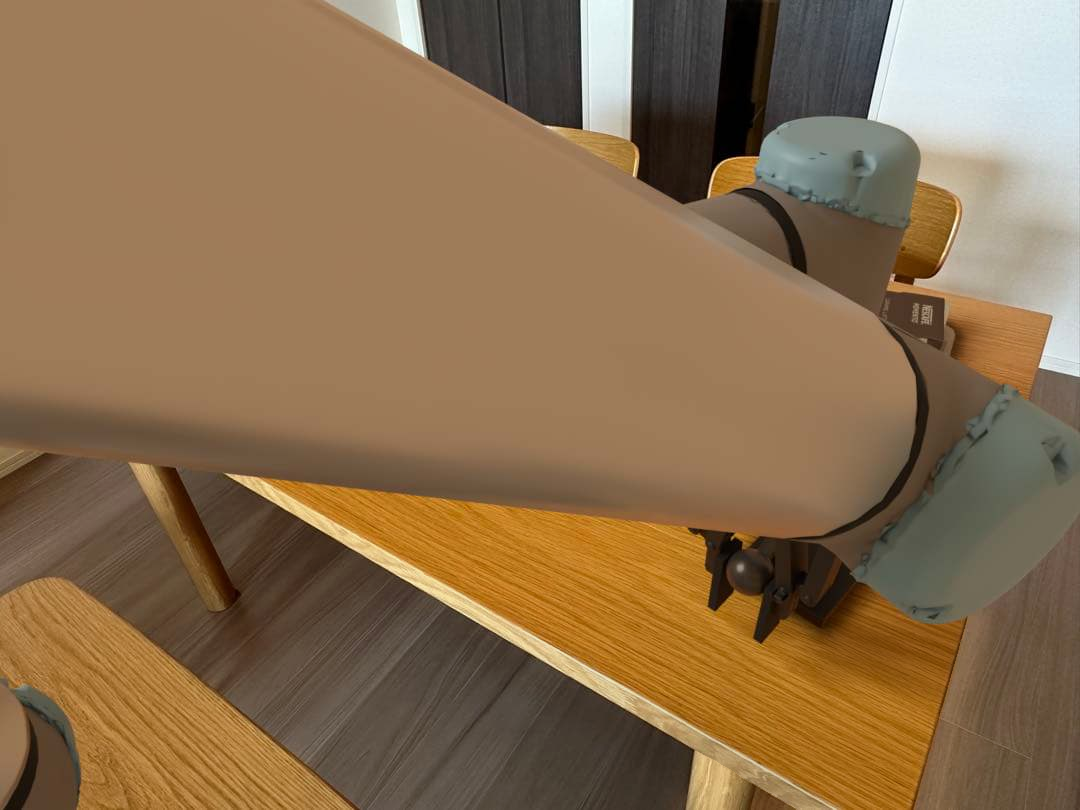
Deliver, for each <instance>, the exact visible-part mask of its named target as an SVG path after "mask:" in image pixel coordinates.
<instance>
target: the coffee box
mask: <svg viewBox="0 0 1080 810" xmlns="http://www.w3.org/2000/svg"><path fill="white" fill-rule="evenodd" d="M945 302H946V300H945V298H944V297H940V296H933V295H928V294H922V293H915V292H908V291H900V292H899V291H893V290H888V289H887V290H886V294H885V297H884V300H883V303H882V306H881V309H880V313H879V317H881V318H883V319H884V320H886V321H888V322H890V323H892V324H893V325H895V326H897V327H899V328H900V329H902V330H904V331H906V332H908V333H909V334H911V335H913V336H915V337H916V338H918V339H920V340H922V341H923V342H925V343H927V344H929V345H931V346H932V347H934V348H936V349H938V350H940V349H941V346H942V344H943V342H944V310H945Z"/></svg>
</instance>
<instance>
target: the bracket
mask: <svg viewBox="0 0 1080 810" xmlns="http://www.w3.org/2000/svg"><path fill="white" fill-rule="evenodd" d="M766 538H767V537H766V536H758V537H757V538H756V539H755V540H754V541H753V542H752V543H751V545H749V546H748V548H752V549H756V550H757V549H758V548H759V547H760V546H761V544H762V543H763V542H764V541H765V539H766ZM819 545H820V544H818V543H808V573H809V570H810V568H811V565H812V563H813V560H814V558H815V555H816V552H817V550H818V547H819ZM771 562H772V564H773V566H774V571H775V556H774V557H773V559H772V560H771ZM850 572H852V571H851V570H850V569H849V568H848V567H847V566H846V565H845V564H844V563H843V562H842V564H841V566H840V568H839V571H838V573H837V575H836V578H835V580H834V582H833V584H832V586H831V587H830V588H829V589H828V591H827V592H826V593H825V594H824V595H823V597H822V598H821V599H820V600H819V601H818V603H817V604H816V605H815V606H814V607H809V606H807V605H805V604H804V603H803V602H802V601H801V599H800V598H799V601H798V604H797V607H796V609H795V610H794V611H793V613H796V614H797V615H798V616H800V617H801V618H803V619H805V620H806V621H808V622H809V623H811V624H812V625H814V626H815V627H817V628H819V629H822V628H823V627H824V626H825V624H826V623H827V622H828V620H829V619H830V618H831V617H832V616H833V614H834V613H835V612H836V611H837V610H838V608H839V607H840V606H841V604H842V603H843V602H844V601H845V599H846V598H847V597H848V595H849V594H850V593H851V592H852V590H853V589H854V588H855V587H856V586H857V584H858V583H859V582H857V581H856V579H855V578H854V576H853V575H850Z"/></svg>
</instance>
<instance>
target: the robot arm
mask: <svg viewBox="0 0 1080 810" xmlns="http://www.w3.org/2000/svg"><path fill="white" fill-rule="evenodd" d="M759 151H760V152H759V154H758V155H759V156H758V161H757V162H756V164H755V165H754V167H753V175H754V182H753V183H750V184H748V185H745V186H740V187H737V188H734V189H732V190H730V191H728V192H726V193H724V194H719V195H716V196H711V197H707V198H703V199H700V200H696V201H691V202H688V203H684V204H683V203H681V202H679V201H677V200H676V199H674V198H672V197H670V196H669V195H667V194H665V193H664V192H662V191H660V190H658V189H656V188H655V187H652V186H651V185H649V184H648V183H646V182H644V181H642V180H640V179H639V178H637V177H635V176H633V175H632V174H631V173H628V172H626V171H624V170H623V169H621V168H619V167H618V166H616V165H614V164H613V163H611V162H608V161H607V160H605V159H604V158H602V157H600V156H598V155H596V154H594V153H593V152H591V151H589V150H587V149H586V148H584V147H582V146H581V145H580V144H577V143H575V142H574V141H572V140H570V139H568V138H567V137H565V136H564V135H562V134H560V133H558V132H556V131H554V130H552V129H551V128H549V127H547V126H546V125H544V124H542V123H540V122H539V121H537V120H535V119H533V118H531V117H530V116H528V115H526V114H524V113H523V112H521V111H519V110H517V109H516V108H514V107H512V106H510V105H509V104H507V103H506V102H504V101H502V100H499V98H497V97H494V96H493V95H491V94H489V93H488V92H486V91H484V90H482V89H480V88H479V87H477V86H475V85H473V84H472V83H470V82H468V81H467V80H464V79H463V78H461V77H460V76H458V75H456V74H454V73H453V72H451V71H448V70H447V69H445V68H443V67H442V66H440V65H438V64H437V63H434V62H433V61H431V60H430V59H428V58H426V57H425V56H423V55H421V54H419V53H417V52H415V51H414V50H412V49H410V48H408V47H406V46H405V45H404V44H401V43H400V42H398V41H396V40H394V39H393V38H391V37H389V36H387V35H386V34H384V33H382V32H380V31H379V30H377V29H375V28H373V27H372V26H370V25H368V24H366V23H365V22H363V21H361V20H360V19H358V18H356V17H354V16H352V15H351V14H349V13H347V12H345V11H344V10H341V9H340V8H338V7H336V6H335V5H333V4H331V3H329V2H328V1H326V0H0V448H2V449H10V450H21V451H26V452H27V451H28V452H35V453H36V452H37V453H46V454H52V455H53V454H54V455H61V456H62V455H63V456H71V457H79V458H88V459H96V460H97V459H98V460H105V461H113V462H122V463H131V464H140V465H149V466H155V467H157V466H158V467H164V468H175V469H182V470H192V471H200V472H210V473H216V474H217V473H218V474H226V475H234V476H243V477H251V478H258V479H259V478H260V479H269V480H276V481H277V480H278V481H287V482H295V483H304V484H311V485H321V486H328V487H338V488H345V489H356V490H362V491H370V492H371V491H372V492H378V493H379V492H381V493H387V494H388V493H389V494H397V495H405V496H406V495H407V496H413V497H414V496H415V497H423V498H431V499H440V500H448V501H457V502H465V503H475V504H482V505H483V504H484V505H491V506H492V505H493V506H501V507H508V508H517V509H527V510H535V511H543V512H551V513H561V514H569V515H576V516H577V515H579V516H587V517H595V518H603V519H612V520H619V521H620V520H621V521H630V522H637V523H645V524H655V525H662V526H663V525H665V526H673V527H682V528H687V531H689V532H690V533H691V534H692V535H695V536H698V535H700V536H701V537H702V538H703V539H704V545H705V547H706V552H705V560H704V568H705V571H706V572H708V573H709V574H711V575H712V576H711V581H710V588H709V595H708V600H707V608H709V610H711V611H713V612H714V613H716V612H717V611H718V609H720V608H721V607H722V606H723V604H725V602H726V601H727V600H728V599H729V598H730V597H731V596H732V595H733V594H734V592H735V589H734V588H733V587H732V586H731V585H730V583H729V581H728V579H727V575H726V566H727V563H728V560H729V559H730V557H731V556H732V555H733V554H734V553H735V552H737V551H739V550H741V549H743V545H744V541H743V540H741V539H740V538H737V537H736V536H735V534H741V535H751V536H758V537H759V536H766V537H775V577H774V578H773V579H772V581H771V582H770V583H769V584H768V585H767V586H766V587H765V589H764V593H763V594H762V598H761V602H760V606H759V609H758V610H759V611H758V614H757V620H756V623H755V629H754V632H753V637H752V639H753V640H754V641H756V642H757V643H759V644H760V645H762V644H763V643H764V641H766V640H767V638H768V637H769V636H770V635H771V634H772V632H773V631H774V630H775V629H776V628H777V627H778V626H779V624H780V622H781V621H782V622H784V621H786V620H787V619H788V618H789V617H790V616H791V615H792V613H794V610H795V609H796V607H797V604H798V601H799V598H800V599H801V601H802V602H803V603H804V604H805V605H807V606H809V607H814V606H815V605H816V604H817V603H818V601H819V600H820V599H821V598H822V597H823V595H824V594H825V593H826V592H827V591H828V589H829V588H830V587H831V586H832V584H833V582H834V580H835V578H836V575H837V573H838V571H839V568H840V566H841V564H842V562H843V563H844V564H845V565H846V566H847V567H848V568H849V569H850V570H851V571H852V572H850V575H853V576H854V578H855V579H856V581H857V582H858V583H861V584H865V585H867V586H868V587H869V588H871V590H873V591H874V592H875V593H877V594H878V595H879V596H880V597H881V598H883V599H884V600H886V601H887V602H888V603H889V604H890V605H891V606H893V607H895V609H897V610H898V611H899V612H900V613H902V614H903V615H905V616H907V617H908V618H910V619H912V620H914V621H916V622H919V623H921V624H922V623H923V624H927V625H944V624H952V623H954V622H957V621H960V620H963V619H965V618H968V617H970V616H972V615H974V614H976V613H978V612H980V611H982V610H983V609H985V608H986V607H988V606H989V605H991V604H992V603H993V602H995V601H996V600H998V599H999V598H1001V597H1002V596H1003V595H1005V594H1006V593H1007V592H1008V591H1010V590H1011V589H1013V588H1014V587H1015V586H1016V585H1017V584H1018V583H1019V582H1020V581H1022V580H1023V579H1024V578H1025V577H1026V576H1028V574H1029V573H1030V572H1031V571H1033V569H1034V568H1035V567H1037V566H1038V564H1040V563H1041V562H1042V560H1043V559H1044V558H1045V557H1046V556H1047V555H1048V554H1049V553H1050V551H1051V550H1053V549H1054V547H1055V546H1056V545H1057V544H1058V543H1059V541H1061V539H1062V538H1063V537H1064V536H1065V534H1066V533H1068V531H1069V529H1070V528H1071V526H1072V525H1073V524H1074V522H1076V520H1077V518H1078V516H1079V515H1080V432H1079V431H1078V430H1076V429H1075V428H1074V427H1072V426H1071V425H1069V424H1067V423H1066V422H1064V421H1062V420H1061V419H1059V418H1057V416H1055V415H1052V414H1051V413H1049V412H1047V411H1045V410H1044V409H1042V408H1041V407H1039V406H1038V405H1036V404H1035V403H1033V402H1032V401H1030V400H1028V399H1027V398H1025V397H1023V396H1022V395H1021V392H1020V389H1017V388H1015V387H1013V386H1011V385H1009V384H1008V383H1007V382H1003V383H1002V384H1001V383H999V382H997V381H995V380H994V379H991V378H990V377H988V376H986V375H985V374H982V373H980V372H979V371H978V370H976V369H974V368H972V367H970V366H969V365H966V364H965V363H963V362H961V361H959V360H958V359H956V358H954V357H952V356H951V355H950V356H949V355H947V354H945V353H943V352H941V351H940V350H938V349H936V348H934V347H932V346H931V345H929V344H927V343H925V342H923V341H922V340H920V339H918V338H916V337H915V336H913V335H911V334H909V333H908V332H906V331H904V330H902V329H900V328H899V327H897V326H895V325H893V324H892V323H890V322H888V321H886V320H884V319H883V318H881V317H879V313H880V309H881V306H882V303H883V300H884V297H885V294H886V290H887V291H888V287H889V284H890V281H891V278H892V274H893V272H894V268H895V265H896V261H897V259H898V255H899V252H900V249H901V246H902V243H903V239H904V236H905V234H906V230H907V229H909V228H910V226H911V223H912V218H911V217H910V216H911V211H912V206H913V201H914V197H915V193H916V192H915V191H916V187H917V184H918V183H917V182H918V178H919V173H920V169H921V161H922V155H921V150H920V148H919V146H918V144H917V142H916V141H915V140H914V138H913V137H911V135H909V134H908V133H906V131H904V130H903V129H900V128H898V127H896V126H893V125H891V124H886V123H883V122H880V121H876V120H873V119H868V118H862V117H861V118H860V117H853V116H837V115H836V116H835V115H829V116H828V115H826V116H825V115H824V116H822V115H821V116H811V117H802V118H798V119H797V118H796V119H793V120H790V121H787V122H783V123H782V124H781V125H778V126H777V127H776V129H774V130H772V131H771V132H769V133H768V134H767V135H766V137H764V138H763V141H762V143H761V145H760V150H759ZM733 536H734V537H733ZM808 543H818V544H820V545H819V547H818V550H817V552H816V555H815V558H814V560H813V563H812V565H811V568H810V570H809V573H808ZM76 741H77V740H76V736H75V732H74V729H73V726H72V724H71V721H70V719H69V718H68V716H67V715H66V713H65V712H64V710H63V709H62V708H61V707H60V706H59V704H57V703H56V702H55V700H53V699H52V698H51V697H49V695H47V694H46V693H44V692H42V691H41V690H39V689H38V688H35V687H33V686H30V685H28V684H23V685H22V686H19V687H17V688H15V689H13V688H10V686H9V681H8V679H7V678H4V677H0V810H78V806H79V802H80V794H81V785H82V767H81V760H80V755H79V752H78V749H77V742H76Z"/></svg>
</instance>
